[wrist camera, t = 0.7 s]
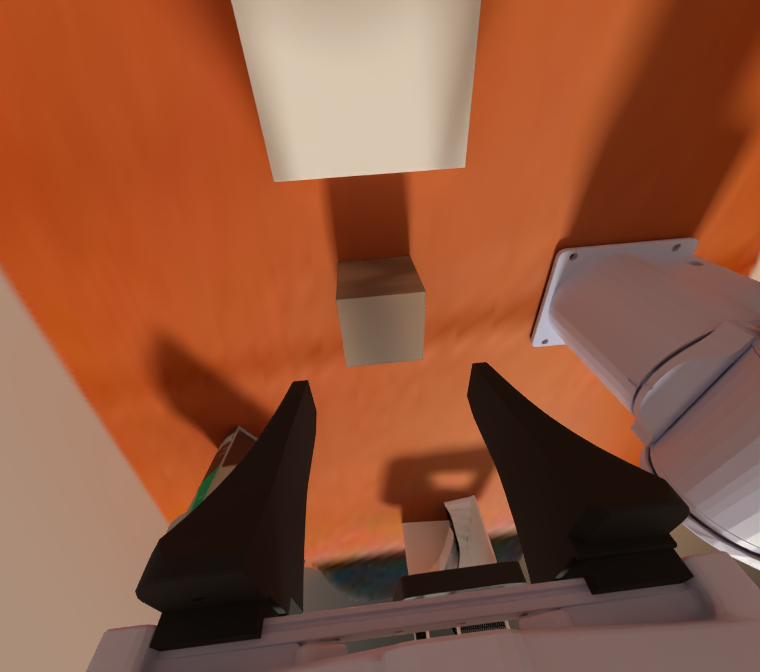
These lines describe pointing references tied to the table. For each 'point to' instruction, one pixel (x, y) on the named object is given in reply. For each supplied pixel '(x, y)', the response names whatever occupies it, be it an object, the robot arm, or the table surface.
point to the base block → (360, 83)
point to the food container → (221, 466)
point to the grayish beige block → (380, 311)
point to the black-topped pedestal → (453, 559)
